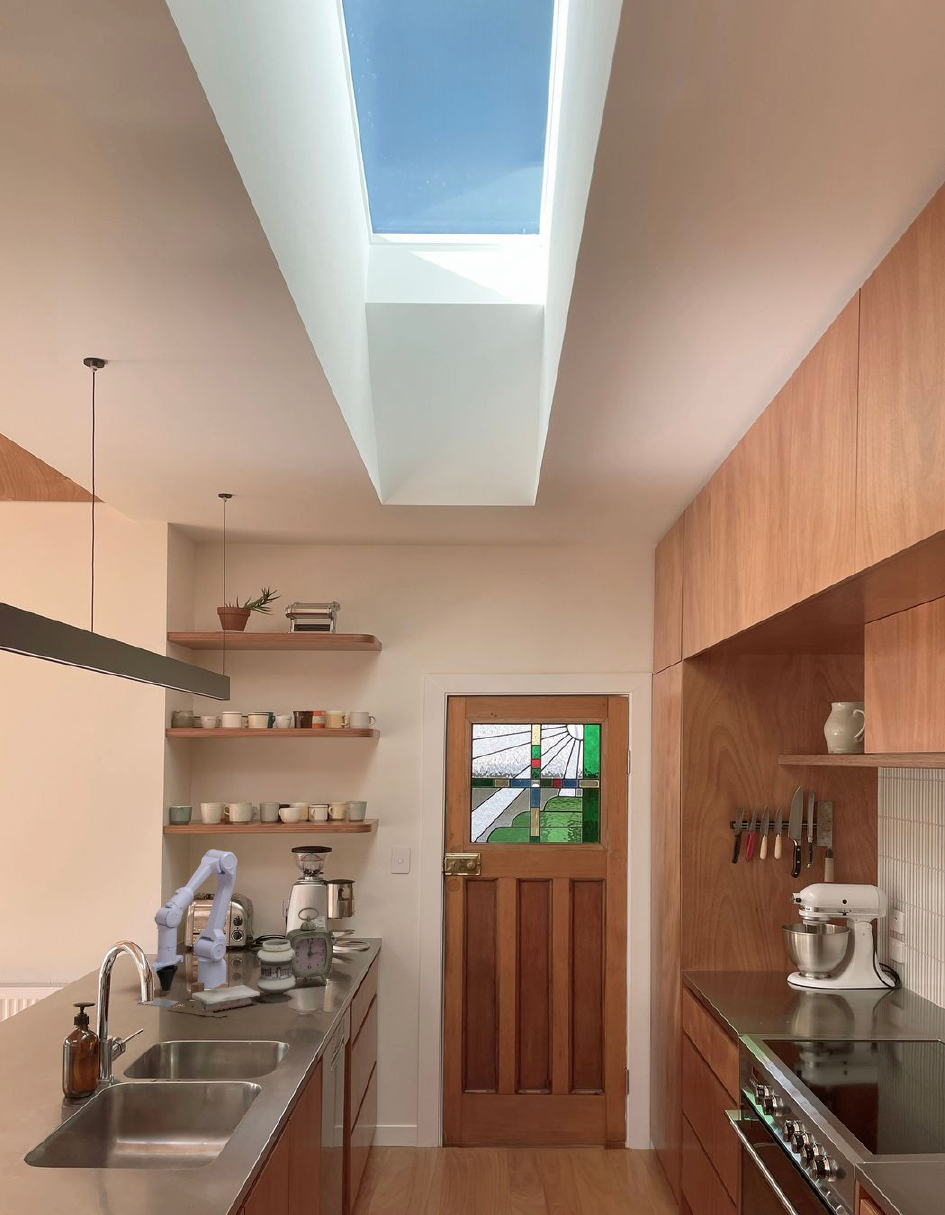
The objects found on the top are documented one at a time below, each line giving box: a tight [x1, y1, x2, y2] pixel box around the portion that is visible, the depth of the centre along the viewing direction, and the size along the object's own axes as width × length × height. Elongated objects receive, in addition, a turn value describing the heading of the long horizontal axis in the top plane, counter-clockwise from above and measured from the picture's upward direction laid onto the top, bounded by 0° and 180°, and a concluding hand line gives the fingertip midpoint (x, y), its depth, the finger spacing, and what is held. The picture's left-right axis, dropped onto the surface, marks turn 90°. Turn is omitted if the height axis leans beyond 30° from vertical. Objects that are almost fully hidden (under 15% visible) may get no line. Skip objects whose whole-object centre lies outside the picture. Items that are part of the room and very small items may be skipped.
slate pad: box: [136, 997, 180, 1008], centre depth 328 cm, size 6×11×1 cm, turn 69°
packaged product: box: [192, 984, 261, 1013], centre depth 324 cm, size 18×5×10 cm
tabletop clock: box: [284, 906, 333, 989], centre depth 352 cm, size 14×9×25 cm, turn 114°
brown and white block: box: [188, 981, 205, 1002], centre depth 331 cm, size 9×4×5 cm, turn 70°
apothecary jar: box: [256, 938, 297, 1004], centre depth 333 cm, size 12×12×18 cm
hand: (165, 990), depth 337 cm, fingers closed
